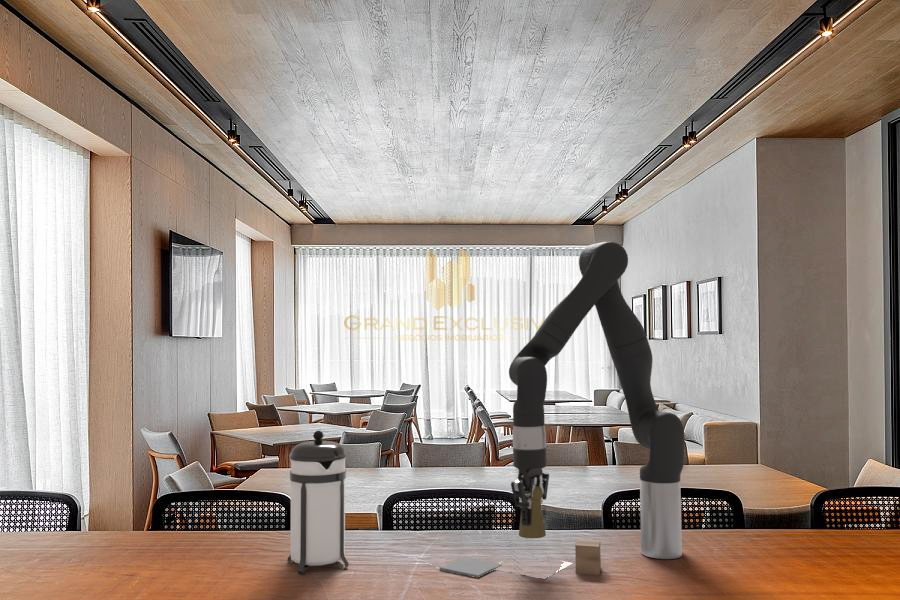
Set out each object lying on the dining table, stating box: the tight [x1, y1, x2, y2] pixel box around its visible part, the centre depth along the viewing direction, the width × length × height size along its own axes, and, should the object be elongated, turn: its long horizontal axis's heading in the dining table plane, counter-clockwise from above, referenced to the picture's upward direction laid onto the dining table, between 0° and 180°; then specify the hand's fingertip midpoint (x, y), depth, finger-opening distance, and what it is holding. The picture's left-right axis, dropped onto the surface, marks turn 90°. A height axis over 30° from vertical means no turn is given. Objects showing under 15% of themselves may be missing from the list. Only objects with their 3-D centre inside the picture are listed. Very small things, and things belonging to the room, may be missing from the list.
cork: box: [518, 486, 546, 539], centre depth 171 cm, size 6×6×11 cm
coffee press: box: [287, 430, 350, 576], centre depth 173 cm, size 17×16×30 cm
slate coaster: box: [439, 556, 502, 578], centre depth 168 cm, size 10×10×1 cm
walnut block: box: [574, 538, 602, 575], centre depth 167 cm, size 5×5×6 cm
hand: (531, 522), depth 171 cm, fingers closed on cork, 4 cm apart
